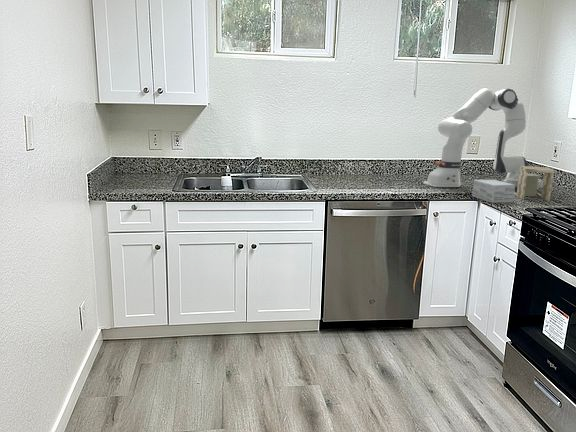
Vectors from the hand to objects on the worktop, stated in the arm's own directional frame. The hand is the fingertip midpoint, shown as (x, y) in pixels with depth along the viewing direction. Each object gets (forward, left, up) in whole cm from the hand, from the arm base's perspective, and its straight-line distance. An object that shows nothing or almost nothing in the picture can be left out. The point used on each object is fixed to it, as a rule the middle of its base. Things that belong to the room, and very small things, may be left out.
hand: (527, 185), depth 284 cm
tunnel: (-3, -4, -5) cm, 7 cm away
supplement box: (-30, -7, -5) cm, 32 cm away
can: (-2, -3, -5) cm, 6 cm away
